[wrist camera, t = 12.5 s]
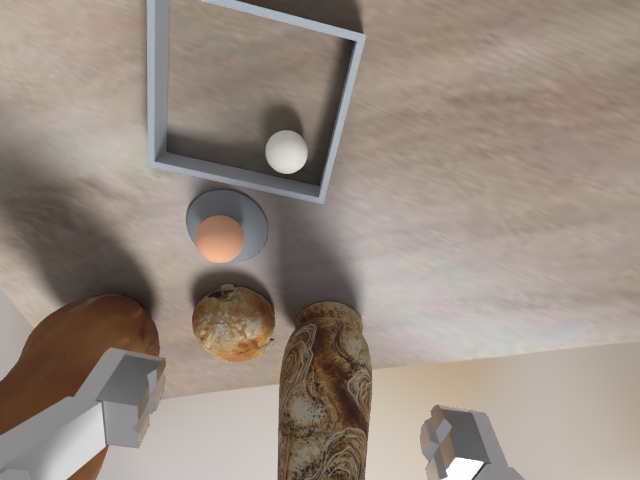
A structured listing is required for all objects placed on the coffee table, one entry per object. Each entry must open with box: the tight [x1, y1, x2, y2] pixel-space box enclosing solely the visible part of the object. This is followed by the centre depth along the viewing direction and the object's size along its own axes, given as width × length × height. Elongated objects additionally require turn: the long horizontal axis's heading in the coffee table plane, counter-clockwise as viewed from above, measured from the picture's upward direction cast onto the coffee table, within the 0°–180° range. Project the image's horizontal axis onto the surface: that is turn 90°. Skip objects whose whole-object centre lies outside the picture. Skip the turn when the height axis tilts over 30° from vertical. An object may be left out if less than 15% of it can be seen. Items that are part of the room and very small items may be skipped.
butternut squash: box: [0, 294, 160, 480], centre depth 37 cm, size 14×13×25 cm
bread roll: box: [192, 284, 275, 362], centre depth 46 cm, size 10×10×8 cm
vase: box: [278, 301, 372, 480], centre depth 36 cm, size 10×11×30 cm
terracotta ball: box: [195, 215, 244, 263], centre depth 39 cm, size 5×5×5 cm
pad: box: [186, 189, 268, 262], centre depth 41 cm, size 9×9×1 cm
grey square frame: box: [147, 0, 366, 204], centre depth 33 cm, size 17×15×3 cm
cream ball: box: [265, 130, 308, 174], centre depth 35 cm, size 4×4×4 cm
